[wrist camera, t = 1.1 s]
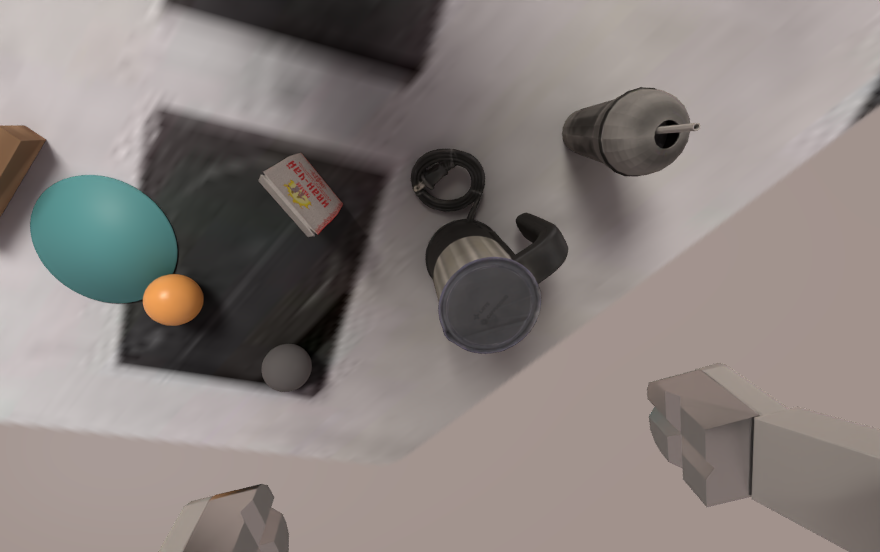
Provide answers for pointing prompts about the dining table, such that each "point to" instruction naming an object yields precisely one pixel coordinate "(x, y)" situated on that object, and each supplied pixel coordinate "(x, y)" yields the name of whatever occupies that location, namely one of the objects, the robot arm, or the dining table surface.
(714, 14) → the dining table surface
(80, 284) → the teal ellipsoid
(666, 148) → the beverage cup
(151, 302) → the orange ball
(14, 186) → the wall
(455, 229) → the milk frother
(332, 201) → the white carton box
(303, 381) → the gray ball
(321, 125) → the dining table surface
